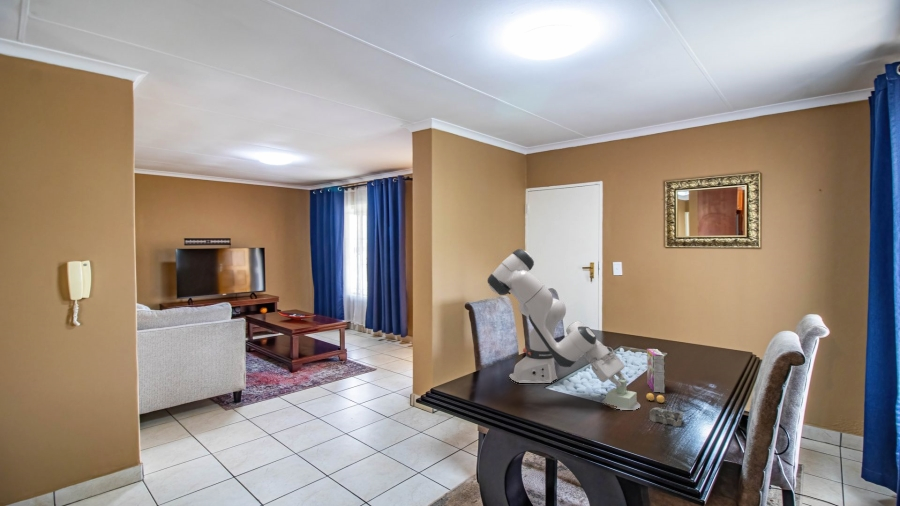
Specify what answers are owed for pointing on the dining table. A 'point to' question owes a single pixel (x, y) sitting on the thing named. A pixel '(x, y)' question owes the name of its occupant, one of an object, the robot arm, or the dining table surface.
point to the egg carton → (666, 416)
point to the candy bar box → (656, 370)
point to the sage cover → (621, 396)
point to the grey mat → (626, 408)
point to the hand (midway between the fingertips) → (622, 384)
